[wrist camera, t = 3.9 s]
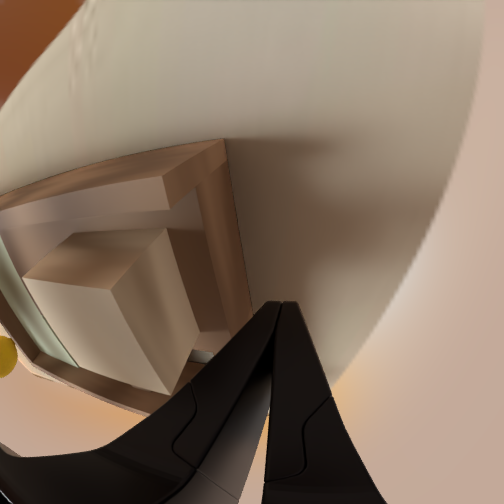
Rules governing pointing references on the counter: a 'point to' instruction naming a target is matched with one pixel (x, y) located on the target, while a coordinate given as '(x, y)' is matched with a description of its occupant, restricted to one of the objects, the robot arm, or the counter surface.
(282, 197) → the counter surface
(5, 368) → the lemon
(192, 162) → the wooden compartment tray
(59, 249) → the block
